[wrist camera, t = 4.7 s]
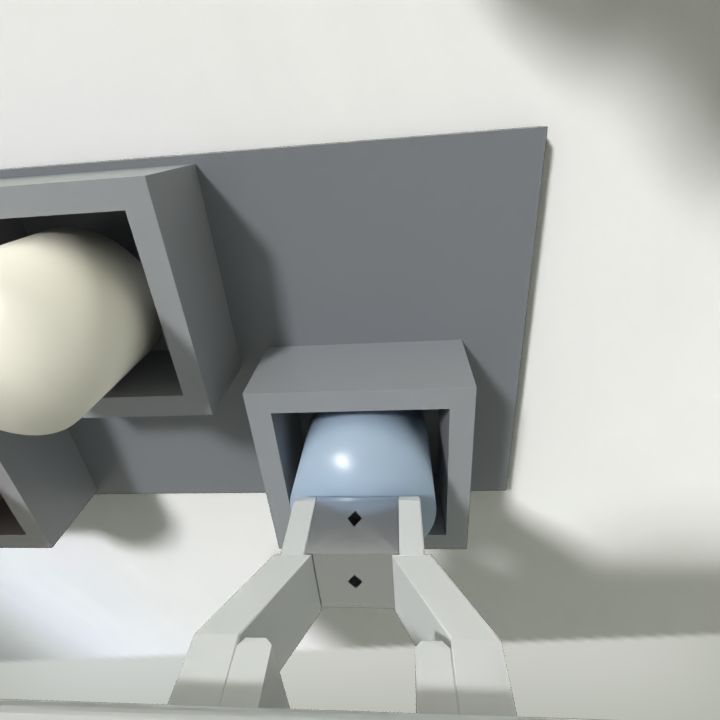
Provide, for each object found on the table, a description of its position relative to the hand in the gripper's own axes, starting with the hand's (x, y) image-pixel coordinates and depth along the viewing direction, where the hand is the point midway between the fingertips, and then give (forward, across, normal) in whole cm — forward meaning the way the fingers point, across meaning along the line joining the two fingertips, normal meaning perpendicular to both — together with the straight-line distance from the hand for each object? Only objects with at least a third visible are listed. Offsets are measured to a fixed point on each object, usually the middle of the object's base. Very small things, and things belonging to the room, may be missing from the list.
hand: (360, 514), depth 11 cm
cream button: (+2, +6, -5) cm, 8 cm away
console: (+4, +6, -2) cm, 8 cm away
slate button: (+3, 0, 0) cm, 3 cm away
